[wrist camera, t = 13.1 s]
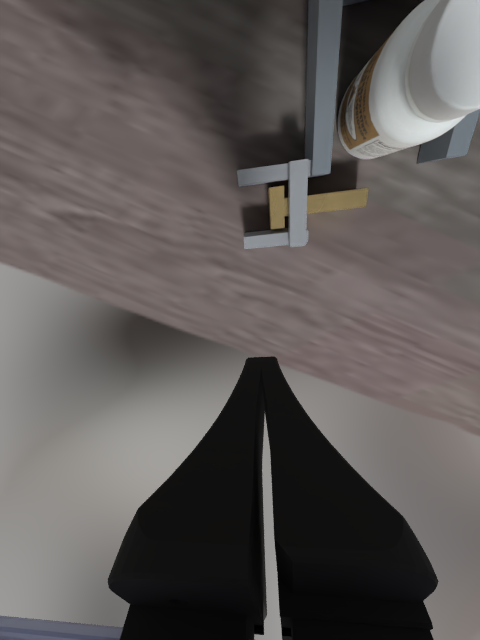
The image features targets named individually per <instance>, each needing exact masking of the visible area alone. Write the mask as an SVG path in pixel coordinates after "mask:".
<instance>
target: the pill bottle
mask: <svg viewBox="0 0 480 640" xmlns="http://www.w3.org/2000/svg"><path fill="white" fill-rule="evenodd" d="M478 109H480V0H424V1H423V2H422V3H420V4H419V5H418V6H417V7H416V8H415V9H414V10H413V11H412V12H411V13H410V14H409V15H408V16H407V17H406V18H405V19H404V20H403V21H402V22H401V23H400V25H399V26H398V27H397V28H396V29H395V31H394V32H393V33H392V34H391V35H390V36H389V38H388V39H387V40H386V41H385V42H384V43H383V44H382V46H381V47H380V48H379V49H378V50H377V52H376V53H375V54H374V55H373V56H372V58H371V59H370V60H369V61H368V62H367V64H366V65H365V66H364V67H363V69H362V70H361V71H360V72H359V74H358V75H357V76H356V77H355V78H354V79H353V81H352V82H351V84H350V85H349V87H348V88H347V90H346V92H345V94H344V97H343V99H342V102H341V105H340V109H339V114H338V134H339V138H340V141H341V143H342V145H343V147H344V148H345V150H346V151H347V152H348V153H349V154H351V155H352V156H354V157H357V158H360V159H372V158H376V157H380V156H384V155H387V154H390V153H393V152H396V151H399V150H403V149H406V148H409V147H412V146H416V145H419V144H422V143H425V142H428V141H430V140H433V139H435V138H437V137H439V136H441V135H442V134H444V133H446V132H447V131H449V130H450V129H451V128H453V127H454V126H455V125H456V124H458V123H459V122H460V121H461V120H462V119H463V118H464V117H465V116H466V115H467V114H469V113H472V112H474V111H476V110H478Z"/></svg>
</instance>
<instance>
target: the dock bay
mask: <svg viewBox="0 0 480 640" xmlns="http://www.w3.org/2000/svg"><path fill="white" fill-rule="evenodd" d="M365 1H369V0H309V2H308V42H307V82H306V123H305V159H303V160H296V161H290V162H289V163H285V164H278V165H271V166H264V167H257V168H250V169H243V170H237V176H238V186H240V187H243V186H250V185H258V184H265V183H273V182H281V181H288V224H289V228H283V229H274V230H265V231H256V232H246V233H245V234H244V247H245V249H251V248H261V247H271V246H281V245H289V246H290V247H297V246H306V243H308V230H307V229H306V220H307V189H308V178H311V177H318V176H323V175H326V174H330V171H331V157H332V143H333V130H334V116H335V102H336V88H337V75H338V61H339V47H340V33H341V20H342V6H346V5H350V4H355V3H360V2H365ZM479 113H480V109H478V110H476V111H474V112H472V113H469V114H467V115H466V116H465V117H464V118H463V119H462V120H461V121H460V122H459V123H458V124H456V125H455V126H454V127H453V128H451V129H450V130H449V131H447V132H446V133H444V134H442V135H441V136H439V137H437V138H435V139H433V140H430V141H428V142H425V143H422V144H421V147H420V152H419V156H418V160H417V163H425V162H432V161H438V160H443V159H449V158H454V157H460V156H465V155H467V152H468V149H469V145H470V142H471V139H472V136H473V133H474V129H475V126H476V123H477V120H478V117H479Z"/></svg>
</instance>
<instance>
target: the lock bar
mask: <svg viewBox="0 0 480 640" xmlns="http://www.w3.org/2000/svg"><path fill="white" fill-rule="evenodd" d="M368 189H369V188H364V189H352V190H344V191H335V192H327V193H319V194H311V195H307V213H316V212H325V211H334V210H342V209H351V208H360V207H366V203H367V196H368ZM268 201H269V224H270V228H271V229H277V228H285V218H284V216H288V197H287V198H284V186H278V187H270V188H268Z"/></svg>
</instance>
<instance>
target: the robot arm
mask: <svg viewBox="0 0 480 640" xmlns="http://www.w3.org/2000/svg"><path fill="white" fill-rule="evenodd" d="M264 414H265V415H266V423H267V430H268V437H269V444H270V453H271V474H272V493H273V494H272V495H273V517H274V539H275V550H276V561H277V572H278V588H279V589H278V590H279V608H280V617H281V627H282V639H283V640H433V637H432V635H431V632H430V630H431V629H433V626H432V622H431V620H430V617H429V615H428V612H427V610H426V607H425V605H424V603H423V600H424V599H426V598H427V597H428V596H429V595H430V594H431V593H432V592H434V590H435V589H436V587H437V584H438V579H437V577H436V574H435V572H434V570H433V568H432V565H431V563H430V561H429V559H428V557H427V555H426V553H425V552H424V550H423V548H422V546H421V545H420V543H419V541H418V540H417V538H416V536H415V534H414V533H413V531H412V529H411V528H410V526H409V525H408V523H407V521H406V520H405V519H404V517H403V516H402V515H401V514H400V513H399V512H398V511H397V510H396V509H395V508H394V507H392V506H391V505H390V504H389V503H388V502H387V501H386V500H385V499H384V498H383V497H382V496H381V495H380V494H379V493H378V492H377V491H375V490H374V489H373V488H372V487H371V486H370V485H369V484H368V483H367V482H366V481H365V480H364V479H363V478H362V477H361V476H360V475H359V474H358V473H357V472H356V471H355V470H354V469H353V468H352V467H351V465H350V464H349V463H348V462H347V461H346V460H345V459H344V458H343V457H342V456H341V454H340V453H339V452H338V451H337V450H336V449H335V448H334V447H333V446H332V445H331V443H330V442H329V441H328V440H327V439H326V438H325V436H324V435H323V434H322V433H321V431H320V430H319V429H318V428H317V426H316V425H315V424H314V423H313V421H312V420H311V419H310V417H309V416H308V415H307V413H306V412H305V410H304V409H303V407H302V406H301V404H300V403H299V401H298V400H297V398H296V397H295V395H294V393H293V392H292V390H291V388H290V387H289V385H288V383H287V381H286V379H285V378H284V375H283V373H282V371H281V369H280V367H279V364H278V361H277V358H276V357H254V358H248V359H246V362H245V365H244V368H243V371H242V373H241V375H240V378H239V380H238V382H237V384H236V386H235V388H234V390H233V392H232V394H231V396H230V398H229V399H228V401H227V403H226V405H225V406H224V408H223V410H222V411H221V413H220V414H219V416H218V418H217V419H216V421H215V422H214V423H213V425H212V426H211V428H210V429H209V431H208V432H207V433H206V434H205V436H204V437H203V439H202V440H201V441H200V442H199V444H198V445H197V446H196V448H195V449H194V450H193V451H192V453H191V454H190V455H189V456H188V457H187V458H186V459H185V460H184V461H183V463H182V464H181V465H180V466H179V467H178V468H177V469H176V471H175V472H174V473H173V474H172V475H171V476H170V477H169V478H168V479H167V480H166V481H165V482H164V483H163V484H162V485H161V486H160V487H159V488H158V489H157V490H156V491H155V492H154V493H153V494H152V495H151V496H150V497H149V498H148V499H147V500H146V501H145V502H144V503H143V504H142V505H141V506H140V507H139V508H138V510H137V512H136V514H135V516H134V518H133V520H132V522H131V524H130V526H129V528H128V530H127V532H126V535H125V537H124V539H123V541H122V544H121V547H120V549H119V552H118V555H117V557H116V560H115V562H114V565H113V568H112V570H111V573H110V575H109V578H108V585H109V588H110V589H111V590H112V591H113V592H114V593H115V594H116V595H118V596H119V597H121V598H122V599H124V600H125V601H126V602H128V603H129V604H130V607H129V611H128V614H127V617H126V620H125V624H124V627H113V626H101V625H92V624H81V623H71V622H59V621H50V620H39V619H28V618H18V617H7V616H0V640H254V634H259V635H264V619H265V618H266V616H267V604H266V578H265V549H264V523H263V487H262V452H263V434H264Z"/></svg>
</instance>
